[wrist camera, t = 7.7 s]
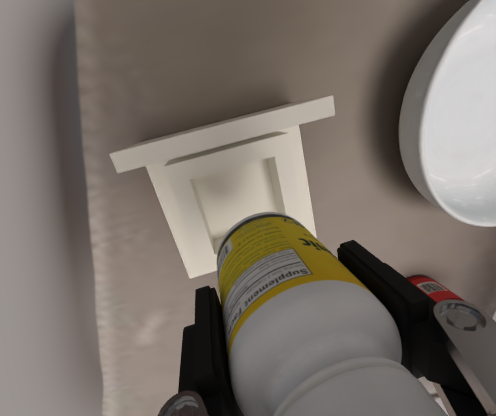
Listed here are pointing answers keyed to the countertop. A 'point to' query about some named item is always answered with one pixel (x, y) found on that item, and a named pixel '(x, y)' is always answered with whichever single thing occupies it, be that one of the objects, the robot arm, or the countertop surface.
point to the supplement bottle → (307, 329)
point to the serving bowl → (455, 117)
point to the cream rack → (228, 175)
